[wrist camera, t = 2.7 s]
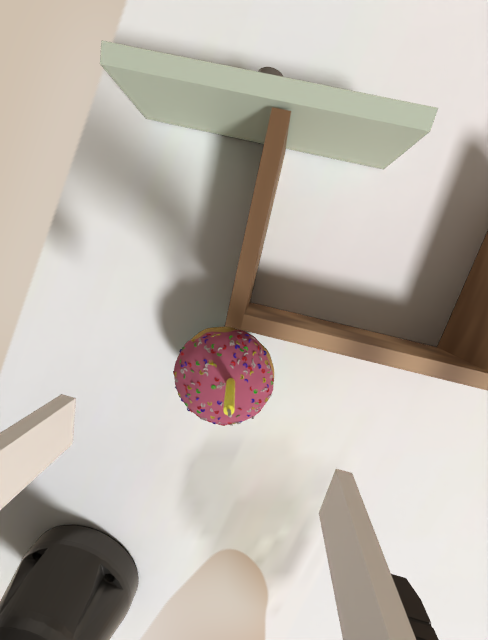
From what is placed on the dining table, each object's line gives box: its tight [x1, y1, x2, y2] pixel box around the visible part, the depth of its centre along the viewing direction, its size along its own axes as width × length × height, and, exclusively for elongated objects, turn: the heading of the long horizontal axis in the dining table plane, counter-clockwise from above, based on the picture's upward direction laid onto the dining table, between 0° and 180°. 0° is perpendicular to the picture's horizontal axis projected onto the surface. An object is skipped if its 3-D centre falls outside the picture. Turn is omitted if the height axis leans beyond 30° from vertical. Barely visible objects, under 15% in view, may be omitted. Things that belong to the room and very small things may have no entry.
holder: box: [225, 107, 488, 390], centre depth 19 cm, size 22×16×6 cm
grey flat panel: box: [100, 41, 438, 169], centre depth 18 cm, size 20×3×6 cm, turn 77°
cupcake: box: [173, 326, 274, 426], centre depth 20 cm, size 9×8×12 cm
